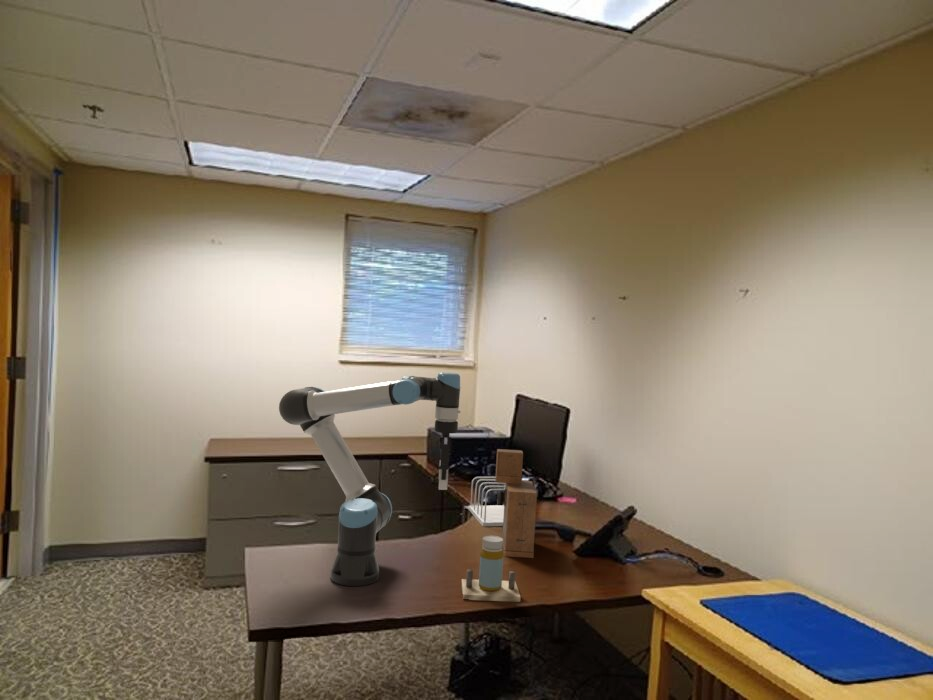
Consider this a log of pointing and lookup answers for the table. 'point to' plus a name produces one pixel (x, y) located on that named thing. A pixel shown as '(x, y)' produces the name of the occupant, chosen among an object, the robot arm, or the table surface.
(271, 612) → the table surface
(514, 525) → the tan tall stacked block
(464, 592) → the peg stand
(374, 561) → the robot arm
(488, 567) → the bottle
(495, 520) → the file sorter
